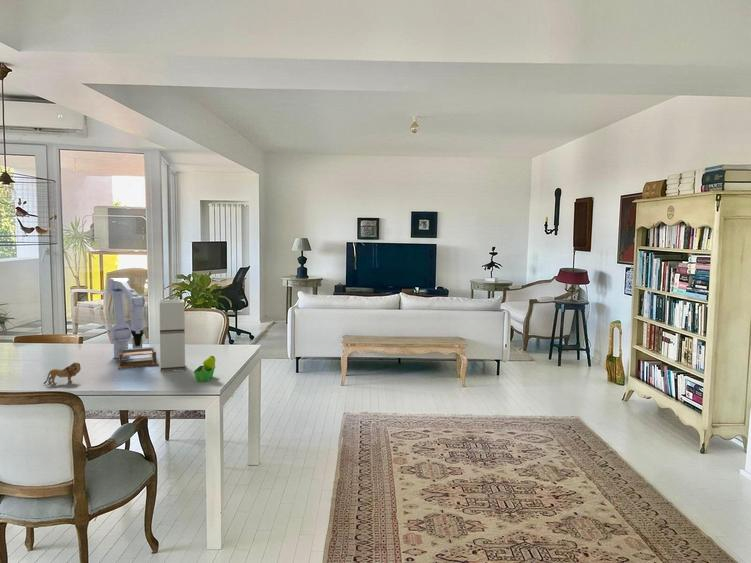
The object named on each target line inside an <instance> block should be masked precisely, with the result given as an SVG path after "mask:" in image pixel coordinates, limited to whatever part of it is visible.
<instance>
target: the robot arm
mask: <svg viewBox="0 0 751 563" xmlns="http://www.w3.org/2000/svg"><path fill="white" fill-rule="evenodd" d="M107 289H108V290H107V291H108V294H110V295H111V297H112V306H113V307H112V308H113V316H114V324H113V325H112V326H111V327H110V328H109V338H110V340H111V341H112V342H113V354H112V358H113V359H119V350H122V359H125V358H130V356H125V357H123V349H129V341H130V339H132V338H134V342H135V346H140V343H141V338H142V339H143V335H144V332H143V331H144V314H143V313H144V311H143V310H144V308H143V307H144V306H145V303H146V301H145V298H144V296H143V295H140V294H139V293H138V292H137V291H136V290H135V289H134V288H131V280H130V278H128V277H118V278H117V277H110V278H109V279H108V280H107ZM123 294H124V297H125V298H126V301H128V307H129V312H130V325H129V324H127V323H126V320H125V313H124V300H123ZM131 337H132V338H131Z"/></svg>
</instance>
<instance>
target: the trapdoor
mask: <svg viewBox="0 0 751 563" xmlns="http://www.w3.org/2000/svg"><path fill="white" fill-rule="evenodd" d="M152 354H153V352H152V346H147V347H142V348H137V349H133V347H131V348H128V349H123V357H124V358H126V357H125V356H129V357H137V356H147V355H149V356H150V355H152Z"/></svg>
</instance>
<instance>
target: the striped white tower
mask: <svg viewBox="0 0 751 563" xmlns="http://www.w3.org/2000/svg"><path fill="white" fill-rule="evenodd" d="M185 327H186V326H185V299H160V300H159V341H160V342H159V347H160V348H159V350H160V351H159V354H160V357H159V359H160V362H159V366H160V372H161V371H168V372H175V371H174V370H182V371H186V352H185V351H186V349H185V348H186V345H185V344H186V341H185V338H186V337H185V334H186V333H185V331H186V330H185Z"/></svg>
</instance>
